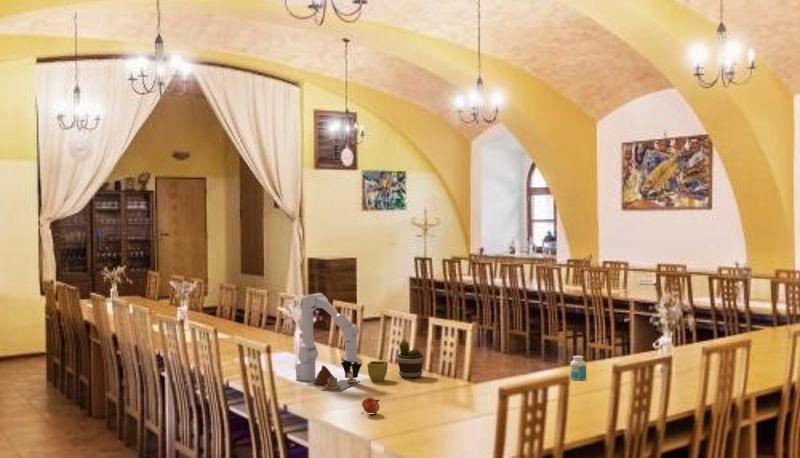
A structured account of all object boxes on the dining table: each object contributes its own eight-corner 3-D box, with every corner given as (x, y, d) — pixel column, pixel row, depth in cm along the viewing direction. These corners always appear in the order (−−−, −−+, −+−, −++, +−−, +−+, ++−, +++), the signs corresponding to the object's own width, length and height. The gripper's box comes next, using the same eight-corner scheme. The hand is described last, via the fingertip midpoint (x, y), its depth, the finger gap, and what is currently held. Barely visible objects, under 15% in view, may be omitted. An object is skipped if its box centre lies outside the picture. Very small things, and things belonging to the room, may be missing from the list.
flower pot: (384, 382, 394) (384, 364, 394) (367, 382, 396) (367, 364, 396) (388, 379, 403) (388, 361, 403) (371, 378, 405) (371, 361, 405)
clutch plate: (343, 377, 393) (342, 372, 393) (352, 375, 397) (351, 370, 397) (350, 378, 389) (349, 374, 389) (359, 376, 393) (358, 372, 393)
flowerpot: (429, 375, 411) (429, 336, 411) (417, 381, 397) (417, 340, 397) (404, 373, 418) (403, 335, 417) (391, 378, 404) (391, 339, 403)
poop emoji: (318, 386, 387) (318, 367, 387) (312, 383, 394) (311, 364, 394) (337, 384, 391) (337, 365, 391) (330, 381, 399) (330, 363, 399)
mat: (321, 390, 378) (321, 389, 378) (341, 380, 401) (341, 379, 401) (340, 391, 375) (340, 390, 375) (360, 381, 397) (360, 380, 397)
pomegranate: (361, 422, 327) (379, 408, 324) (352, 406, 329) (370, 393, 326) (369, 419, 334) (387, 406, 331) (360, 404, 336) (378, 391, 333)
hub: (345, 383, 392) (345, 373, 392) (349, 381, 396) (349, 371, 396) (354, 383, 391) (354, 373, 390) (357, 381, 395) (357, 371, 395)
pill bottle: (585, 382, 388) (585, 355, 388) (587, 385, 381) (587, 357, 381) (569, 382, 389) (569, 355, 389) (571, 385, 382) (571, 357, 382)
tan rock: (322, 388, 379) (322, 377, 379) (328, 385, 386) (328, 374, 386) (336, 389, 377) (336, 378, 377) (342, 386, 384) (342, 375, 384)
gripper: (335, 348, 396) (336, 375, 396) (353, 351, 385) (354, 380, 385) (347, 346, 401) (347, 373, 401) (365, 350, 390) (365, 378, 390)
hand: (351, 376), depth 393 cm, fingers closed on clutch plate, 6 cm apart
